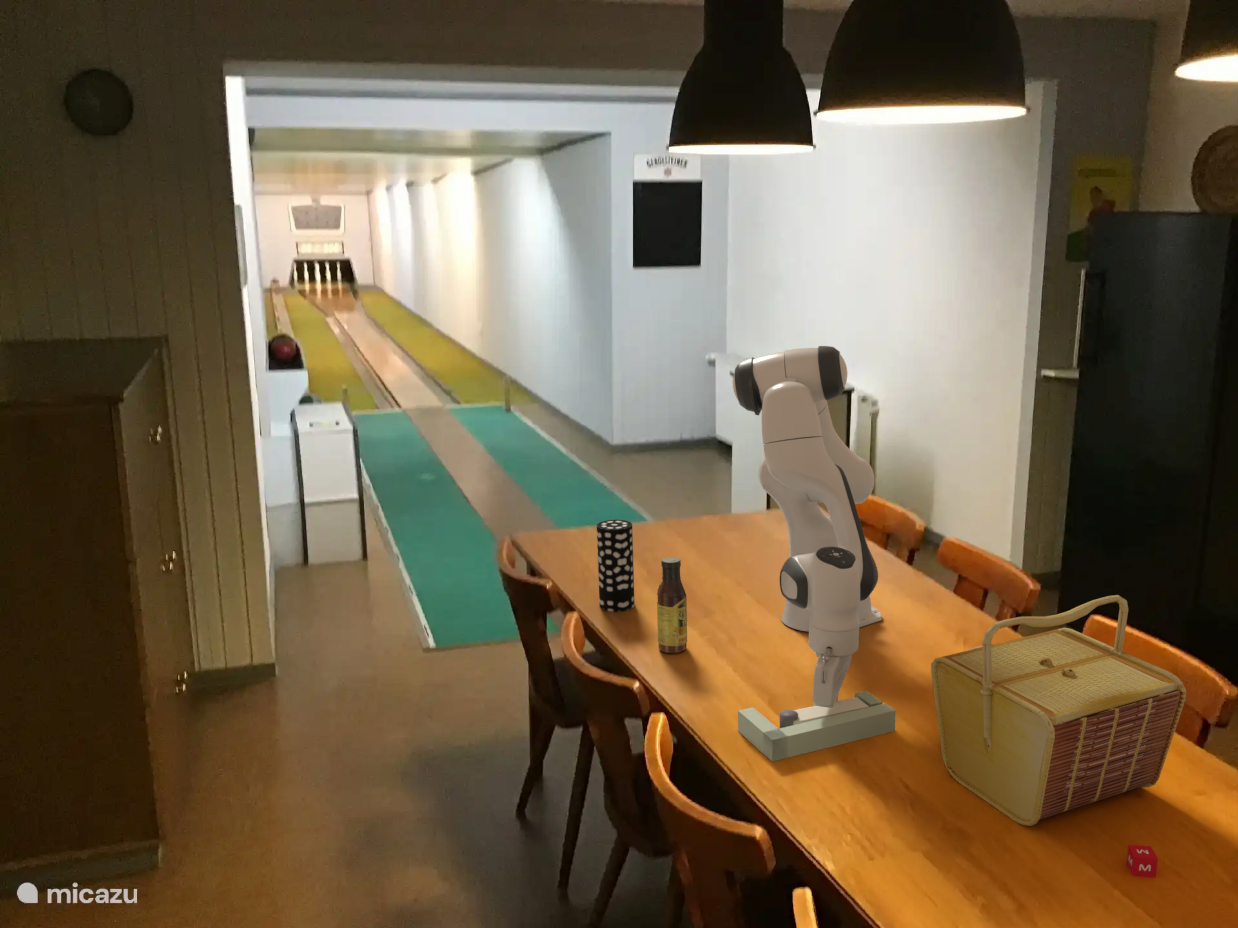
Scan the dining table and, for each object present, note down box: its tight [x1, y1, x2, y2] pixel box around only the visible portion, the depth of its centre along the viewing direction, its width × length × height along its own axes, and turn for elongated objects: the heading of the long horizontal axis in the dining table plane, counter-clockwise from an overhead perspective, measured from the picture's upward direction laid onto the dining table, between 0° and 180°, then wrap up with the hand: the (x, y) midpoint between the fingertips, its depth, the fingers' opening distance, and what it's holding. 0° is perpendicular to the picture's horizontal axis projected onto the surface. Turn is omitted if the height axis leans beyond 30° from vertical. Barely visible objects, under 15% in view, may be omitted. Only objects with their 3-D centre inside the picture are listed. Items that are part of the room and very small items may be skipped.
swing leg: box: [779, 696, 869, 729], centre depth 190 cm, size 17×4×4 cm, turn 110°
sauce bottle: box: [656, 556, 688, 654], centre depth 225 cm, size 6×6×20 cm
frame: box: [737, 690, 897, 762], centre depth 190 cm, size 25×12×4 cm, turn 112°
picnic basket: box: [930, 594, 1187, 827], centre depth 167 cm, size 29×26×30 cm
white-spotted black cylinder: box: [596, 519, 635, 613], centre depth 251 cm, size 8×8×20 cm
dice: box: [1126, 844, 1159, 879], centre depth 148 cm, size 3×3×3 cm
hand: (831, 707), depth 195 cm, fingers closed
